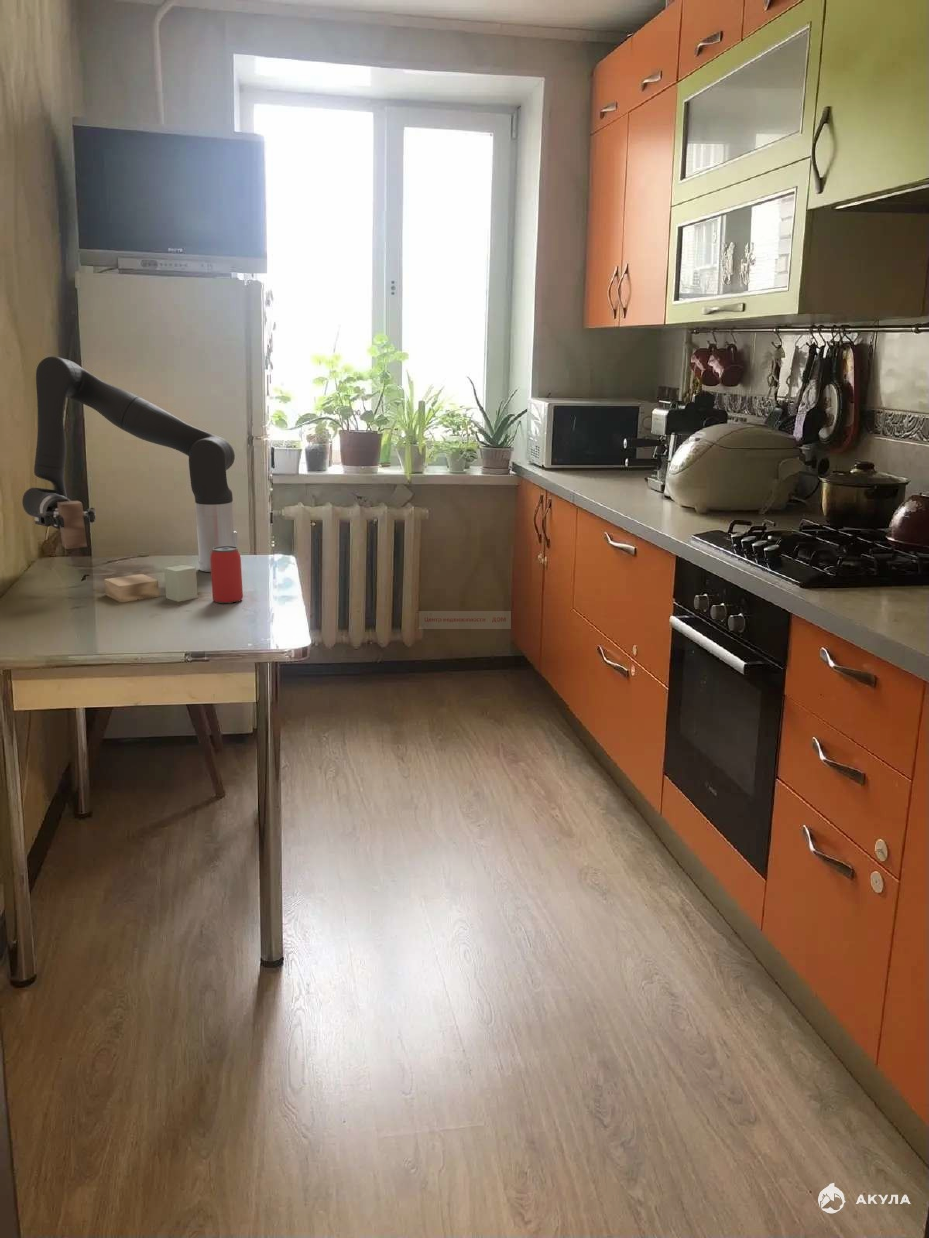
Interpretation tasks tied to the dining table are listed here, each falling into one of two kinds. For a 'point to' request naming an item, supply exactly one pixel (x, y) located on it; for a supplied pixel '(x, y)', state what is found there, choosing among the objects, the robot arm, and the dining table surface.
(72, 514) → the walnut pillar
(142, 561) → the dining table surface
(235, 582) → the beer can
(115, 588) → the oak base block
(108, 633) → the dining table surface
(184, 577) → the sage green block
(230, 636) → the dining table surface
